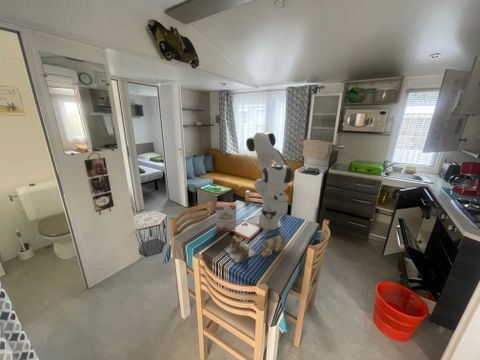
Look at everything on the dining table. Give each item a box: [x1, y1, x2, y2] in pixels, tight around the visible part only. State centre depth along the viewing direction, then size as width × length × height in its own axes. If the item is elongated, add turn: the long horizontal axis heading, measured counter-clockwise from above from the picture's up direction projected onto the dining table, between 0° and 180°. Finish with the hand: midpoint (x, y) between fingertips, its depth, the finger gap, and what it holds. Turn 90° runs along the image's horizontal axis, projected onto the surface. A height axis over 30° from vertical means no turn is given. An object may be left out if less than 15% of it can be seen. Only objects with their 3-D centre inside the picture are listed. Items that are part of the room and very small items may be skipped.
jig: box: [223, 235, 258, 264], centre depth 123 cm, size 16×15×7 cm
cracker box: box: [215, 201, 237, 232], centre depth 146 cm, size 14×6×21 cm, turn 85°
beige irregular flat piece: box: [261, 233, 286, 258], centre depth 123 cm, size 16×2×10 cm, turn 122°
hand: (273, 215), depth 117 cm, fingers open, 8 cm apart
